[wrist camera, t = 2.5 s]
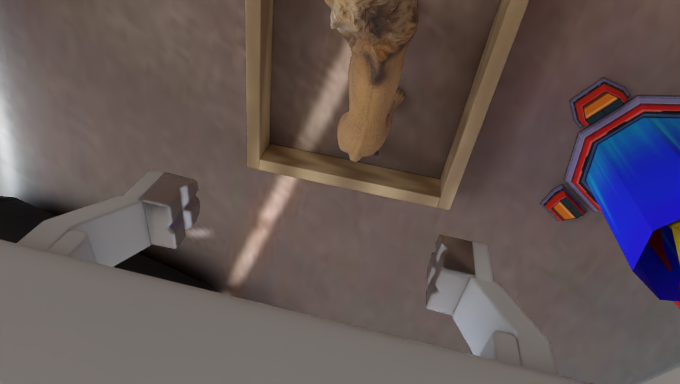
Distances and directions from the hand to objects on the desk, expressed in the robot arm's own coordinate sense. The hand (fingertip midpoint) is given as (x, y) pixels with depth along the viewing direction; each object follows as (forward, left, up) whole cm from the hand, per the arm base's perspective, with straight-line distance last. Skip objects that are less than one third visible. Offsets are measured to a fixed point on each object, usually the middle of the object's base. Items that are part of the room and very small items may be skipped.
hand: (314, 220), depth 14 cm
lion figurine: (0, 0, -18) cm, 18 cm away
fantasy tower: (+20, -4, -18) cm, 27 cm away
